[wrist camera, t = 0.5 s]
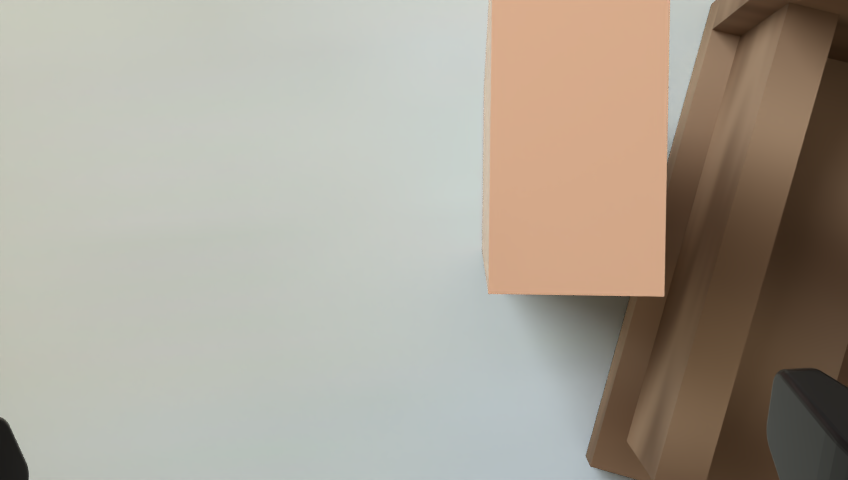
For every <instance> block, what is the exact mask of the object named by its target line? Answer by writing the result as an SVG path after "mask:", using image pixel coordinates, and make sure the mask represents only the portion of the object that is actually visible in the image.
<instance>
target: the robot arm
mask: <svg viewBox="0 0 848 480" xmlns="http://www.w3.org/2000/svg"><path fill="white" fill-rule="evenodd" d="M767 440H768V445H769V448H770V452H771V455H772V458H773V461H774V464H775V467H776V470H777V473H778V476H779V479H780V480H848V387H847V386H845V385H844V384H842V383H840V382H839V381H837V380H835V379H834V378H832V377H831V376H829V375H827V374H826V373H824V372H822V371H820V370H818V369H816V368H796V369H782V370H780V371H779V372H777V373H776V375H775V377H774V380H773V385H772V392H771V399H770V406H769V413H768V420H767ZM0 480H29V472H28V466H27V463H26V461H25V459H24V457H23V454H22V452H21V450H20V448H19V446H18V443H17V441H16V439H15V437H14V435H13V432H12V430H11V428H10V426H9V424H8V422H7V421H6V420H4V419H3V418H2V417H0Z"/></svg>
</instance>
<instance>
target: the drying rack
mask: <svg viewBox="0 0 848 480" xmlns="http://www.w3.org/2000/svg"><path fill="white" fill-rule="evenodd" d="M796 368H816V369H818V370H820V371H822V372H824V373H826V374H827V375H829V376H831V377H832V378H834V379H835V380H837V381H839V382H840V383H842V384H844V385H845V386H847V387H848V0H716V1H715V2H713V3H712V4H711V7H710V11H709V15H708V18H707V22H706V25H705V29H704V33H703V36H702V40H701V43H700V47H699V50H698V54H697V58H696V61H695V65H694V68H693V72H692V76H691V79H690V83H689V86H688V90H687V94H686V97H685V101H684V104H683V108H682V112H681V115H680V119H679V122H678V126H677V130H676V133H675V137H674V140H673V144H672V148H671V151H670V155H669V158H668V162H667V181H666V234H665V287H664V297H658V296H630V299H629V302H628V306H627V309H626V313H625V317H624V320H623V324H622V327H621V331H620V335H619V338H618V342H617V345H616V349H615V353H614V356H613V360H612V363H611V367H610V371H609V374H608V378H607V381H606V385H605V388H604V392H603V396H602V399H601V403H600V406H599V410H598V414H597V417H596V421H595V424H594V428H593V432H592V435H591V439H590V442H589V446H588V450H587V453H586V458H587V460H588V462H589V464H590V466H591V467H594V468H598V469H601V470H605V471H608V472H612V473H616V474H619V475H623V476H626V477H630V478H633V479H637V480H780V479H779V476H778V473H777V470H776V467H775V464H774V461H773V458H772V455H771V452H770V448H769V445H768V440H767V420H768V413H769V406H770V399H771V392H772V385H773V380H774V377H775V375H776V373H777V372H779V371H780V370H782V369H796Z"/></svg>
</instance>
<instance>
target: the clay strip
mask: <svg viewBox="0 0 848 480" xmlns="http://www.w3.org/2000/svg"><path fill="white" fill-rule="evenodd" d="M669 22H670V0H489V6H488V24H487V42H486V60H485V78H484V133H483V218H482V254H483V261H484V268H485V275H486V281H487V288H488V294H533V295H596V296H658V297H664V287H665V234H666V181H667V128H668V75H669Z"/></svg>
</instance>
